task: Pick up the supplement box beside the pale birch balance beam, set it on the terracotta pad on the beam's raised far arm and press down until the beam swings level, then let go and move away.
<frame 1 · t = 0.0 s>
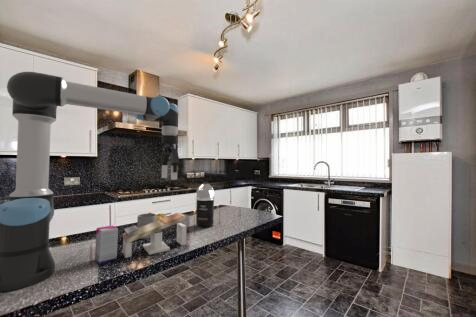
hand: (168, 178, 108), 28 cm above the breakfast bar, tool pointing down, fingers open, 13 cm apart
spray bottle: (204, 225, 126), on the breakfast bar
bread roll: (159, 226, 124), on the breakfast bar
cup: (146, 236, 107), on the breakfast bar
beam: (155, 224, 92), point 10 cm above the breakfast bar, hinge at -14.0°
beam stand: (156, 248, 92), on the breakfast bar
supplement box: (105, 259, 81), on the breakfast bar
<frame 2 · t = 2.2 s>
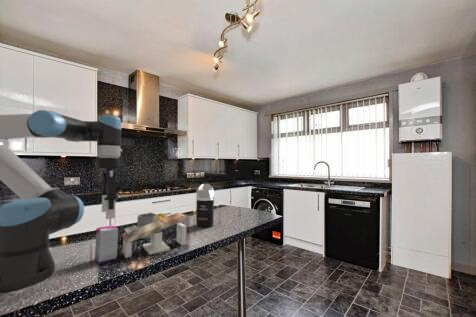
hand: (107, 214, 81), 16 cm above the breakfast bar, tool pointing down, fingers open, 13 cm apart
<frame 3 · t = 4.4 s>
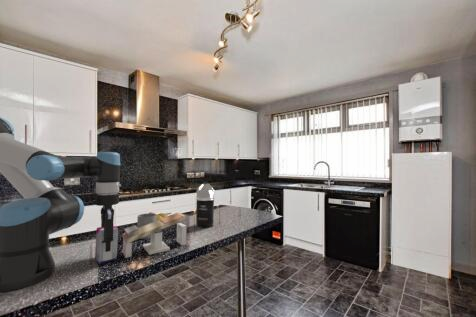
hand: (106, 256, 81), 1 cm above the breakfast bar, tool pointing down, fingers closed on supplement box, 6 cm apart
supplement box: (105, 259, 81), on the breakfast bar, touching gripper
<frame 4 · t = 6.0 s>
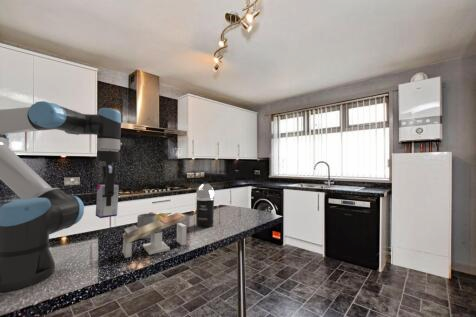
hand: (106, 212, 81), 17 cm above the breakfast bar, tool pointing down, fingers closed on supplement box, 6 cm apart
supplement box: (106, 216, 81), point 16 cm above the breakfast bar, touching gripper
everything else where it was.
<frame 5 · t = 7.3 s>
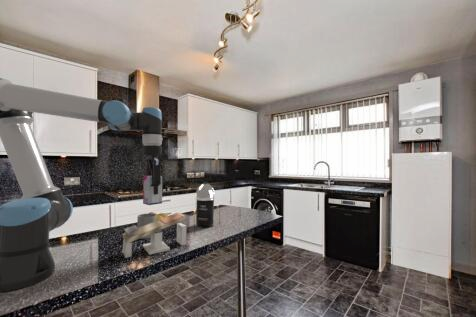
hand: (152, 201, 91), 20 cm above the breakfast bar, tool pointing down, fingers closed on supplement box, 6 cm apart
supplement box: (152, 203, 91), point 19 cm above the breakfast bar, touching gripper
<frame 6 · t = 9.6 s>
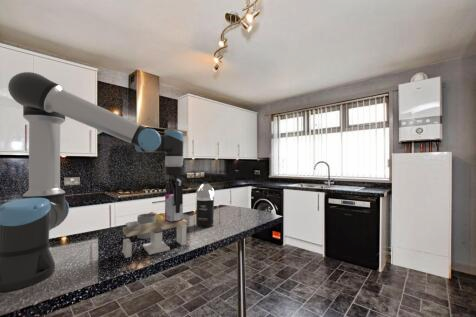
hand: (173, 218, 96), 11 cm above the breakfast bar, tool pointing down, fingers closed on supplement box, 6 cm apart
beam: (156, 224, 92), point 10 cm above the breakfast bar, hinge at -2.0°, touching supplement box
supplement box: (173, 220, 96), point 10 cm above the breakfast bar, touching beam, gripper
when the fingers open (11 cm above the breakfast bar, at t = 10.5 s): supplement box stays where it is, resting on beam.
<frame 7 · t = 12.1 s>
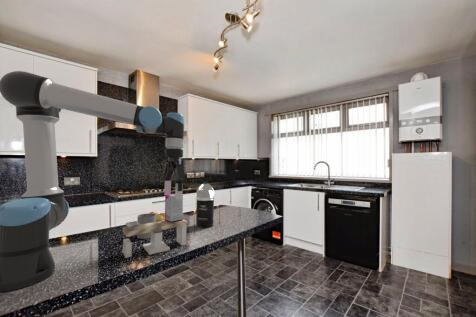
hand: (172, 197, 96), 21 cm above the breakfast bar, tool pointing down, fingers open, 13 cm apart
supplement box: (173, 220, 96), point 10 cm above the breakfast bar, touching beam
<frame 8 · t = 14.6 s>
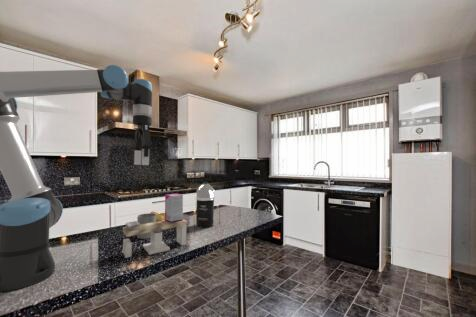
hand: (141, 164, 95), 35 cm above the breakfast bar, tool pointing down, fingers open, 13 cm apart
at the end: beam at -2° (first picture: -14°); supplement box inside the target area (0.5 cm from its centre), point 10.3 cm above the breakfast bar; supplement box tilted 2° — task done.
